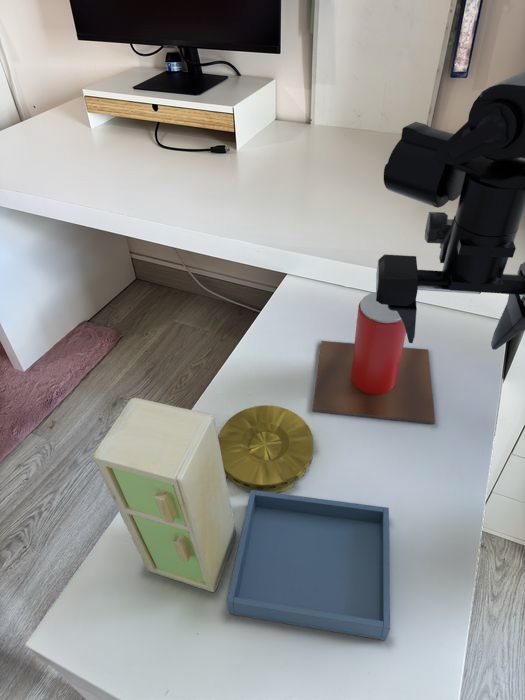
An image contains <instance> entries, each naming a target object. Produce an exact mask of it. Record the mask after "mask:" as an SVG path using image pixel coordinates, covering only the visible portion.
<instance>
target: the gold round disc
mask: <svg viewBox="0 0 525 700" xmlns="http://www.w3.org/2000/svg"><path fill="white" fill-rule="evenodd" d="M217 435H218V440H219V445H220V450H221V456H222V461H223V467H224V472H225V477H226V479H227V478H228V479H229V480H230V481H232V482H233V483H235V484H236V485H237V486H239V487H242V488H244V489H247V490H255V491H264V492H271V493H279V494H281V493H283V492H286V491H288V490H290V489H292V488H294V484H295V483H296V482H297V481H299V480H300V479H301V478H302V477H303V476H304V474H306V472H307V471H308V469H309V468H310V466H311V464H312V460H313V456H314V436H313V433H312V431H311V428H310V427H309V425H308V424H307V423H306V421H305V420H304V419H303V418H302V417H301V416H299V415H298V414H297V413H295V412H294V411H292V410H291V409H290V410H289V409H287V408H284V407H281V406H277V405H255V406H252V407H248V408H245V409H243V410H241V411H238V412H237V413H235V414H234V415H232V416H231V417H230V418H228V419H227V421H225V423H224V424H223V425H222V427H221V429H220V430H219V433H218V434H217Z"/></svg>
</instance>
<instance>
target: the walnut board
mask: <svg viewBox="0 0 525 700" xmlns="http://www.w3.org/2000/svg"><path fill="white" fill-rule="evenodd" d="M353 352H354V343H352V342H342V341H329V340H328V341H327V340H321V343H320V351H319V357H318V366H317V375H316V382H315V389H314V397H313V404H312V412H317V413H325V414H336V415H344V416H345V415H346V416H355V417H365V418H372V419H373V418H374V419H384V420H394V421H402V422H403V421H404V422H410V423H411V422H412V423H422V424H423V423H424V424H431V425H435V423H436V417H435V415H436V414H435V405H434V394H433V385H432V384H433V383H432V375H431V364H430V356H429V355H430V353H429V349H426V348H416V347H415V348H414V347H404V346H403V351H402V356H401V361H400V366H399V371H398V376H397V381H396V385H395V386H394V388H393V389H392V390H390V391H389V392H387V393H384V394H369V393H365V392H363V391H361V390H359V389H358V388H357V387H356V386H355V385H354V384H353V382H352V380H351V370H352V361H353Z"/></svg>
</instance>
